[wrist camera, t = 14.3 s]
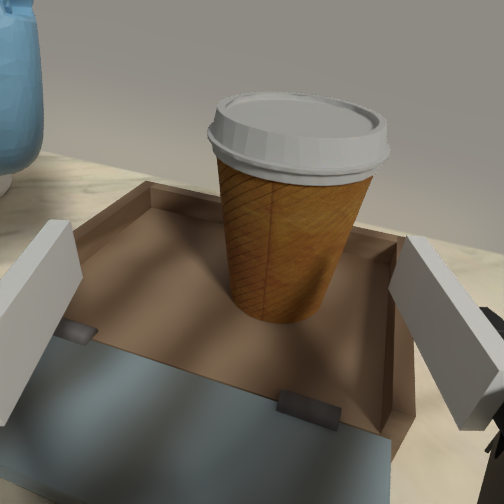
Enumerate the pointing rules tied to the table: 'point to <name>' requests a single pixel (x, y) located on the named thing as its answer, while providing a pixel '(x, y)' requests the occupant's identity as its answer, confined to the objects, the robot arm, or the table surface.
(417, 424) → the table surface
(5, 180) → the bottle
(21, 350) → the robot arm
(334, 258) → the disposable coffee cup
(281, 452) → the shallow wooden crate
